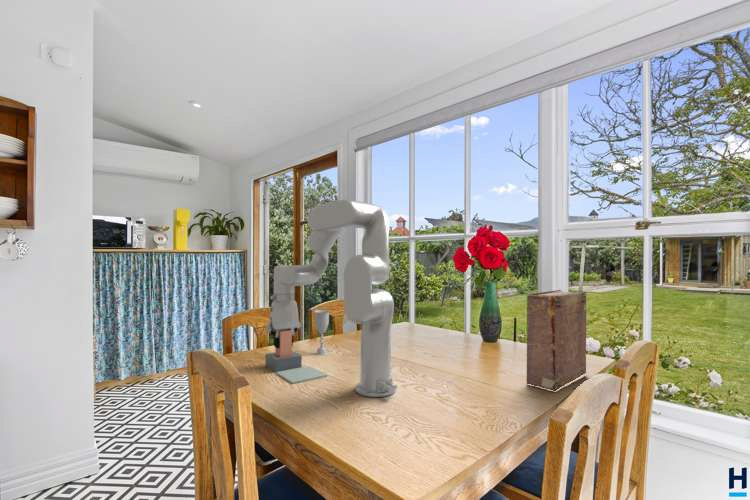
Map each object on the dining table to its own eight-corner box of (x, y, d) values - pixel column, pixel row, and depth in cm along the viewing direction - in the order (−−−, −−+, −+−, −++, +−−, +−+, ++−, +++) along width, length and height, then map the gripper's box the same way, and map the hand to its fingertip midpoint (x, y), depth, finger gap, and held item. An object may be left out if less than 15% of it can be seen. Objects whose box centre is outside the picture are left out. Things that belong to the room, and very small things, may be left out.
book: (559, 370, 142) (560, 289, 142) (586, 376, 135) (586, 291, 135) (526, 385, 125) (526, 294, 126) (554, 393, 119) (555, 296, 119)
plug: (291, 362, 143) (291, 330, 144) (280, 364, 141) (280, 331, 141) (286, 359, 147) (286, 328, 147) (275, 361, 144) (275, 329, 144)
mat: (327, 376, 133) (327, 374, 133) (292, 384, 125) (292, 382, 125) (309, 367, 143) (309, 365, 143) (276, 373, 135) (276, 372, 135)
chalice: (328, 356, 159) (328, 312, 159) (312, 355, 159) (312, 312, 160) (330, 351, 167) (331, 310, 167) (315, 351, 167) (315, 309, 167)
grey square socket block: (301, 367, 143) (301, 355, 143) (276, 372, 137) (276, 359, 137) (289, 361, 151) (290, 350, 151) (265, 365, 145) (265, 353, 145)
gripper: (266, 300, 136) (265, 352, 136) (308, 297, 146) (308, 345, 146) (258, 298, 142) (257, 347, 142) (299, 295, 152) (299, 341, 152)
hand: (283, 346), depth 144 cm, fingers closed on plug, 4 cm apart
